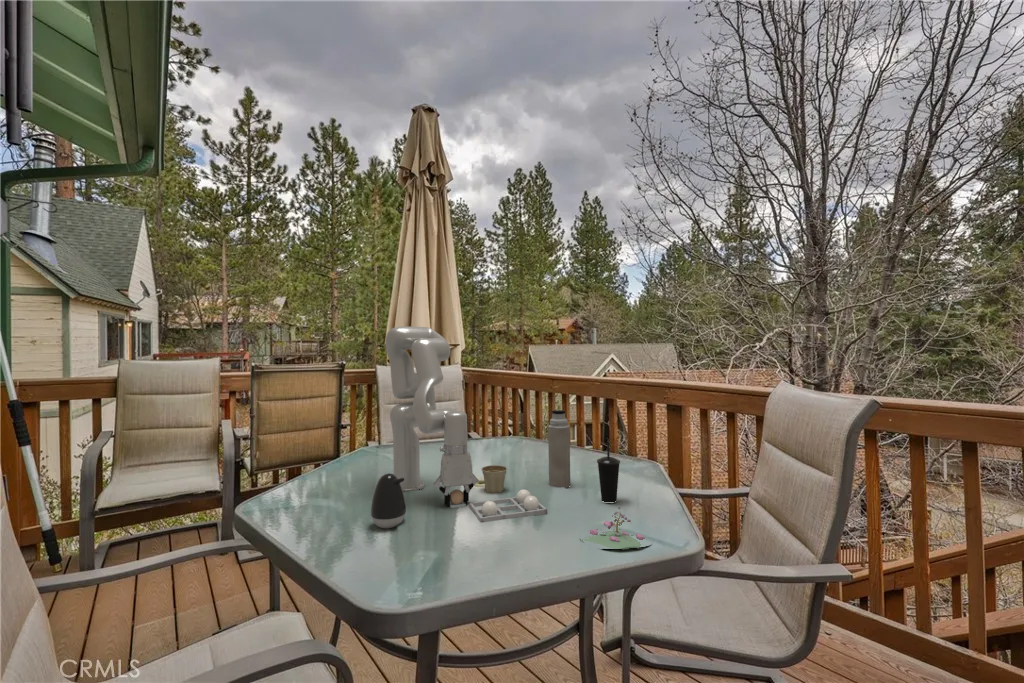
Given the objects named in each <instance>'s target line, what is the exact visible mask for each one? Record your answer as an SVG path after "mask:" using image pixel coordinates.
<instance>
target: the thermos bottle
mask: <svg viewBox="0 0 1024 683" xmlns="http://www.w3.org/2000/svg"><path fill="white" fill-rule="evenodd" d="M551 414H552V415H551V419H549V425H548V426H547V428H548V429H547V433H548V435H547V436H548V440H547V441H548V442H547V443H548V485H549V486H550V487H553V488H564V489H568V488H567V487H569V486H570V487H571V445H570V444H571V441H570V440H571V435H570V434H571V431H570V429H571V428H570V424H568V423H569V421H568V418H566V411H565V410H562V409H561V410H560V409H556V410H552V411H551ZM570 487H569V488H570Z"/></svg>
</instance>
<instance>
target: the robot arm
mask: <svg viewBox="0 0 1024 683" xmlns="http://www.w3.org/2000/svg"><path fill="white" fill-rule="evenodd" d="M384 344H385V350H386V354H387V357H388V360H389V367H390V378H391V389H392V394H393V396H394V398H396V399H398V400H410V399H413V401H410V402H409V401H408V402H402V403H397V404H396V405H394V406H393V407H392V408H391V410H390V412H389V413H390V414H389V417H390V424H391V430H392V441H393V443H392V445H393V456H392V458H393V475H395V476H396V477H397V478H398V479H400V478H404V481H403V482H401V483H400V484H401V487H402V489H403V493H407V492H414V491H420V490H422V489H423V488H424V487H425V483H424V481H421V474H420V473H421V472H420V471H421V469H420V466H421V465H420V459H421V458H420V453H421V452H420V438H419V436H418V434H417V433H416V431H415V429H414V428H418V429H419V431H420V432H421V433H423V434H425V435H426V434H434V433H435V434H436V433H439V432H443V434H444V435H443V441H444V442H443V446H440V447H439V451H440V452H442V453H443V454H442V455H441V460H440V472H439V473H440V474H439V476H438V477H437V479H435V481H434V482H433V486H434V487H435V488H436V489H438V490H439V491H440V492H441V493H442V494H443V496H444V498H443V500H444V501H443V502H444V505H446V507H447V508H450V488H451V487H460V486H462V487H463V491H462V492H463V494H464V499H463V501H464V502H465V504H466V506H467V505H468V502H469V503H470V499H469V498H470V496H469V494H470V492H471V490H472V489H473V488H474V486H475V485H476V484H477V483H479V479H478V478H477V477H476V475H475V474H474V473H473V464H472V456H471V453H470V452H468V415H467V413H466V412H465V411H462V410H461V411H460V410H455V409H453V408H449V407H445V408H437V404H436V394H435V386H437V385H439V384H441V383H442V381H443V380H444V374H443V371H442V367H441V365H440V362H445V361H447V360H448V359H449V358H450V356H451V346H450V344H449V342H448V341H447V339H445V337H443V336H442V335H441V334H439V333H438V332H436V331H435V330H434V329H433V328H430V327H428V326H397V327H396V326H395V327H392V328H390V329H389V330H388V332H387V333H386V336H385V342H384ZM407 350H410V352H411V355H410V354H409V352H408V351H407ZM411 356H412V357H411ZM414 367H415V369H414ZM415 371H416V372H415ZM440 483H441V484H440ZM419 489H420V490H419Z"/></svg>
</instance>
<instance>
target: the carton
mask: <svg viewBox="0 0 1024 683" xmlns="http://www.w3.org/2000/svg"><path fill="white" fill-rule="evenodd" d="M486 501H493V502H494V503H495V504H496V505H497V513H496V514H495V515H494V516H487V517H486V516H482V515H483V513H482V508H477V507H482V505H483V504H484V503H485V502H486ZM506 503H510V504H509V505H503V506H501V505H500V506H498V505H499V504H506ZM468 505H469V506H468V507H469V509H471V511H472V512H473V514H474V515H475V517H476V518H477V520H478V521H479V522H480V523H486V522H492V521H493V522H494V521H499V520H508V519H515V518H522V517H528V516H534V517H536V516H541V515H542V516H543V515H548V509H547V507H545V506H544V505H543V504H541V503H540V502H539V506H538V508H537V510H531V511H527V510H526V509H525V507H524V503H523V504H520V503H519V502H518V501H517V498H516V496H513V497H505V498H497V499H490V500H489V499H488V500H483V501H482V500H481V501H474V502H469V503H468ZM510 510H516V512H510V513H504V511H510ZM517 511H518V512H517Z"/></svg>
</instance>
